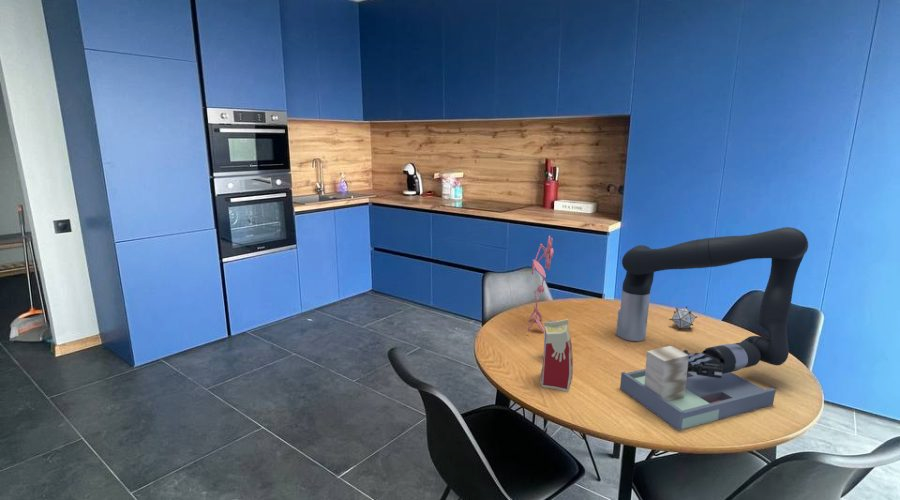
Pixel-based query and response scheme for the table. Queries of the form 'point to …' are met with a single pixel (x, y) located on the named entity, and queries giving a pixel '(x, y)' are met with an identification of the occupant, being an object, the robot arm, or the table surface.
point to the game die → (683, 318)
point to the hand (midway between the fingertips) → (677, 368)
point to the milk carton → (557, 357)
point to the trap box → (699, 398)
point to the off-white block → (667, 372)
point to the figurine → (536, 265)
